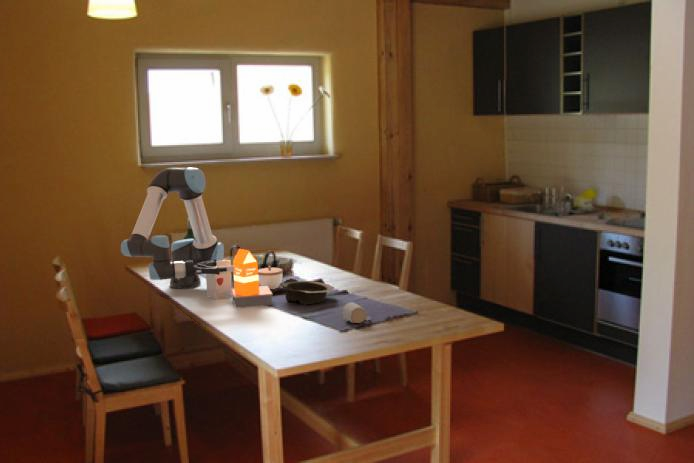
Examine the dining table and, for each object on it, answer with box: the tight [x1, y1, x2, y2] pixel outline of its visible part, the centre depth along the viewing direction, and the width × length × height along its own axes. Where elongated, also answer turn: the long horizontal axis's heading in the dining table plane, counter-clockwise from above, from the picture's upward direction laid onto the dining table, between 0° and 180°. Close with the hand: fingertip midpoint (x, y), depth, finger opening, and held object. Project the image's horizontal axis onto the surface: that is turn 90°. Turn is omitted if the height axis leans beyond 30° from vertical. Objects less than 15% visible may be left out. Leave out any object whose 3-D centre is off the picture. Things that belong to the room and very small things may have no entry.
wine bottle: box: [182, 217, 195, 240], centre depth 429 cm, size 8×8×30 cm
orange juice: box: [232, 248, 260, 296], centre depth 358 cm, size 8×9×20 cm
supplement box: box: [205, 265, 233, 300], centre depth 376 cm, size 9×9×15 cm
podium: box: [231, 285, 274, 309], centre depth 365 cm, size 17×17×5 cm
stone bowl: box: [280, 278, 335, 306], centre depth 364 cm, size 25×25×9 cm
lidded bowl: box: [258, 265, 284, 290], centre depth 390 cm, size 13×13×11 cm
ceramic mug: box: [342, 301, 372, 324], centre depth 326 cm, size 11×8×8 cm
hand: (232, 265), depth 360 cm, fingers open, 13 cm apart
